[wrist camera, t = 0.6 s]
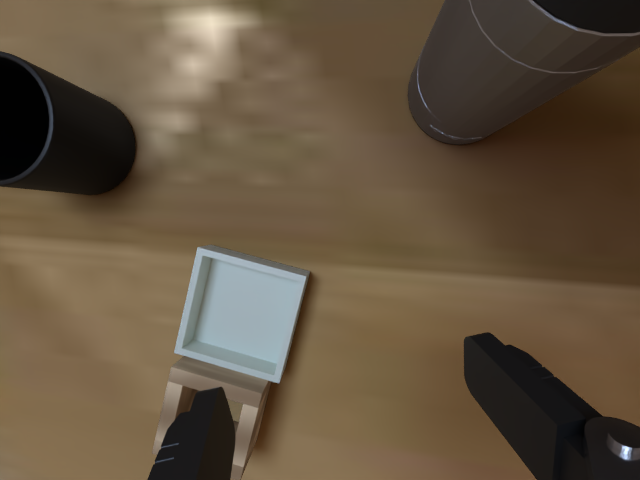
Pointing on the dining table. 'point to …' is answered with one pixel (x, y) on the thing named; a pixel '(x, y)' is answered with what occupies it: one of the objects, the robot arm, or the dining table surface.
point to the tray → (241, 312)
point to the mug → (58, 133)
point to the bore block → (237, 387)
